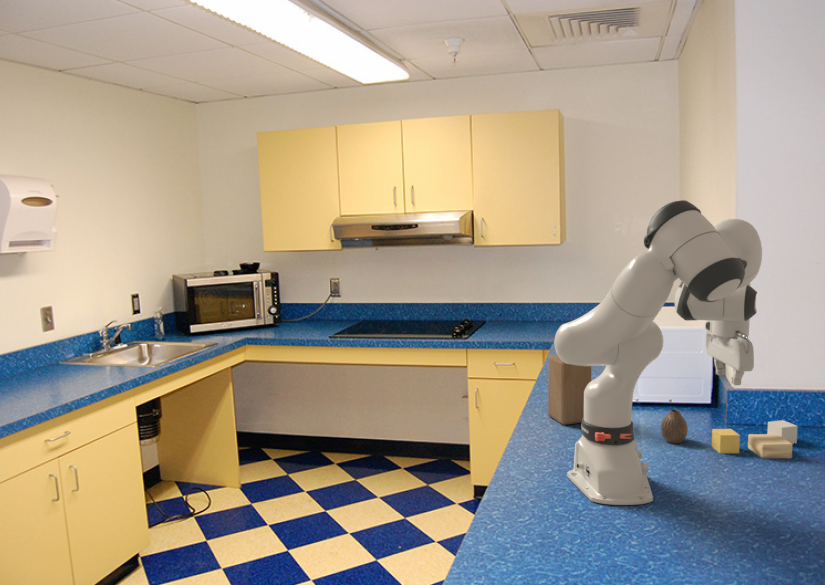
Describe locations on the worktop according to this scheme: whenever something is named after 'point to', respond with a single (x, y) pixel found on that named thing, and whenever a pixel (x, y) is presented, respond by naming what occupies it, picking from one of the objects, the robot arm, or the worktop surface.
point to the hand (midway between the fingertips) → (728, 379)
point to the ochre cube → (725, 440)
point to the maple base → (769, 446)
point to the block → (566, 390)
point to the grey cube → (783, 430)
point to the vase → (674, 427)
